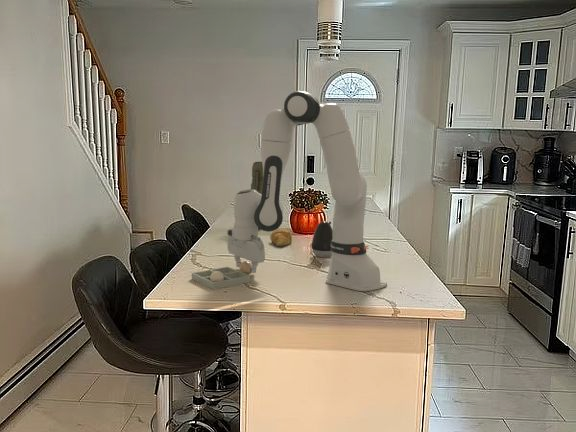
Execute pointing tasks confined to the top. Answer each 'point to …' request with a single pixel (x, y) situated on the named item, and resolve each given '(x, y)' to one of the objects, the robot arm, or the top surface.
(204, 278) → the carton
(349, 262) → the robot arm
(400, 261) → the top surface
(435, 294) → the top surface
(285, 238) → the croissant
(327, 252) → the pump dispenser
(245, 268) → the brown egg
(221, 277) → the pale egg
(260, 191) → the thermos
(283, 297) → the top surface
